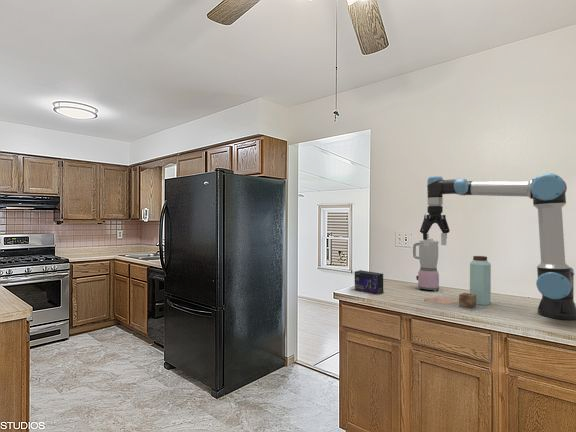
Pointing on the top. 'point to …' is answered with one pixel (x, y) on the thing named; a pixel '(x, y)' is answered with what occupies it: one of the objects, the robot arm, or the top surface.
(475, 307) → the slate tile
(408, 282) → the top surface
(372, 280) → the black digital alarm clock
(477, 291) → the water bottle
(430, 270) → the blender
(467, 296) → the walnut block
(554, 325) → the top surface
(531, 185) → the robot arm
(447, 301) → the terracotta tile
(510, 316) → the top surface
